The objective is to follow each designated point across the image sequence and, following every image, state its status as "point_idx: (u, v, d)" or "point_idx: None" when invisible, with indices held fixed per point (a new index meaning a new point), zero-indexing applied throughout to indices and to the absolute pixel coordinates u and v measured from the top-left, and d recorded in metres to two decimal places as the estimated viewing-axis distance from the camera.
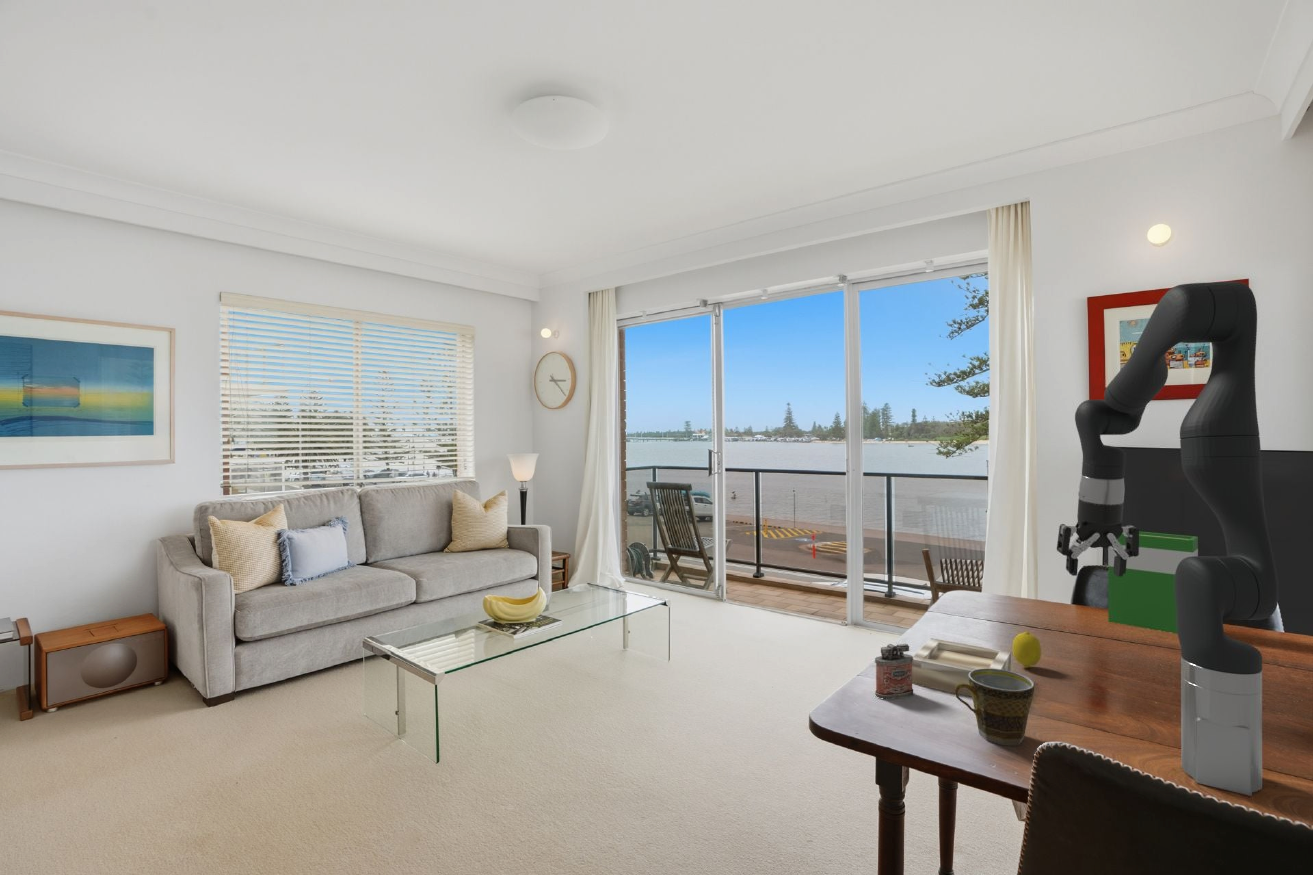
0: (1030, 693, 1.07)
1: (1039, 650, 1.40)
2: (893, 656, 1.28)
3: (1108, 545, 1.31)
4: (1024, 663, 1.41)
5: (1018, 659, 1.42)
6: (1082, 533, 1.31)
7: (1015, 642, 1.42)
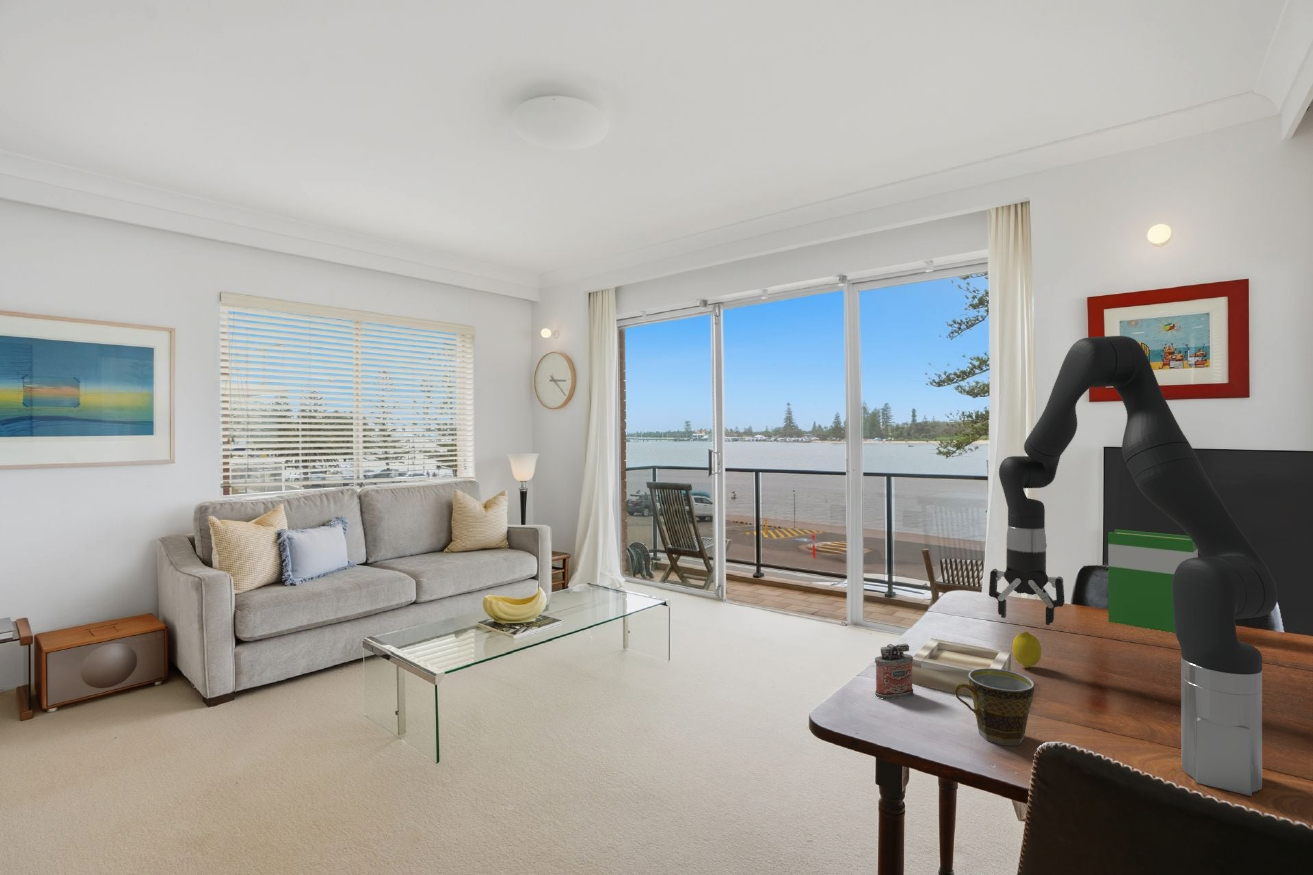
0: (1030, 693, 1.07)
1: (1039, 650, 1.40)
2: (893, 656, 1.28)
3: (1033, 592, 1.40)
4: (1024, 663, 1.41)
5: (1018, 659, 1.42)
6: (1007, 578, 1.43)
7: (1015, 642, 1.42)
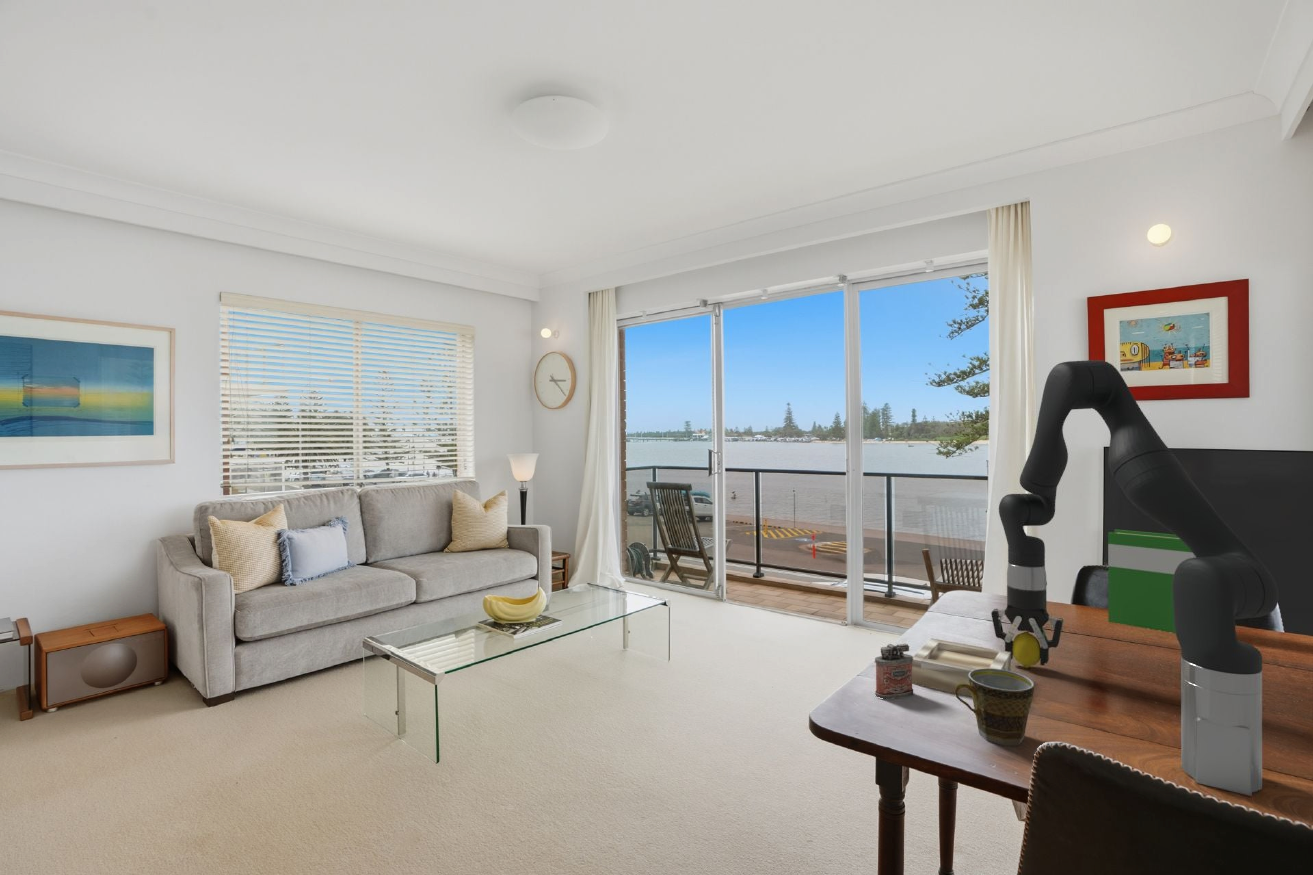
0: (1030, 693, 1.07)
1: (1039, 650, 1.40)
2: (893, 656, 1.28)
3: (1031, 630, 1.41)
4: (1024, 663, 1.41)
5: (1018, 659, 1.42)
6: (1008, 615, 1.43)
7: (1015, 642, 1.42)
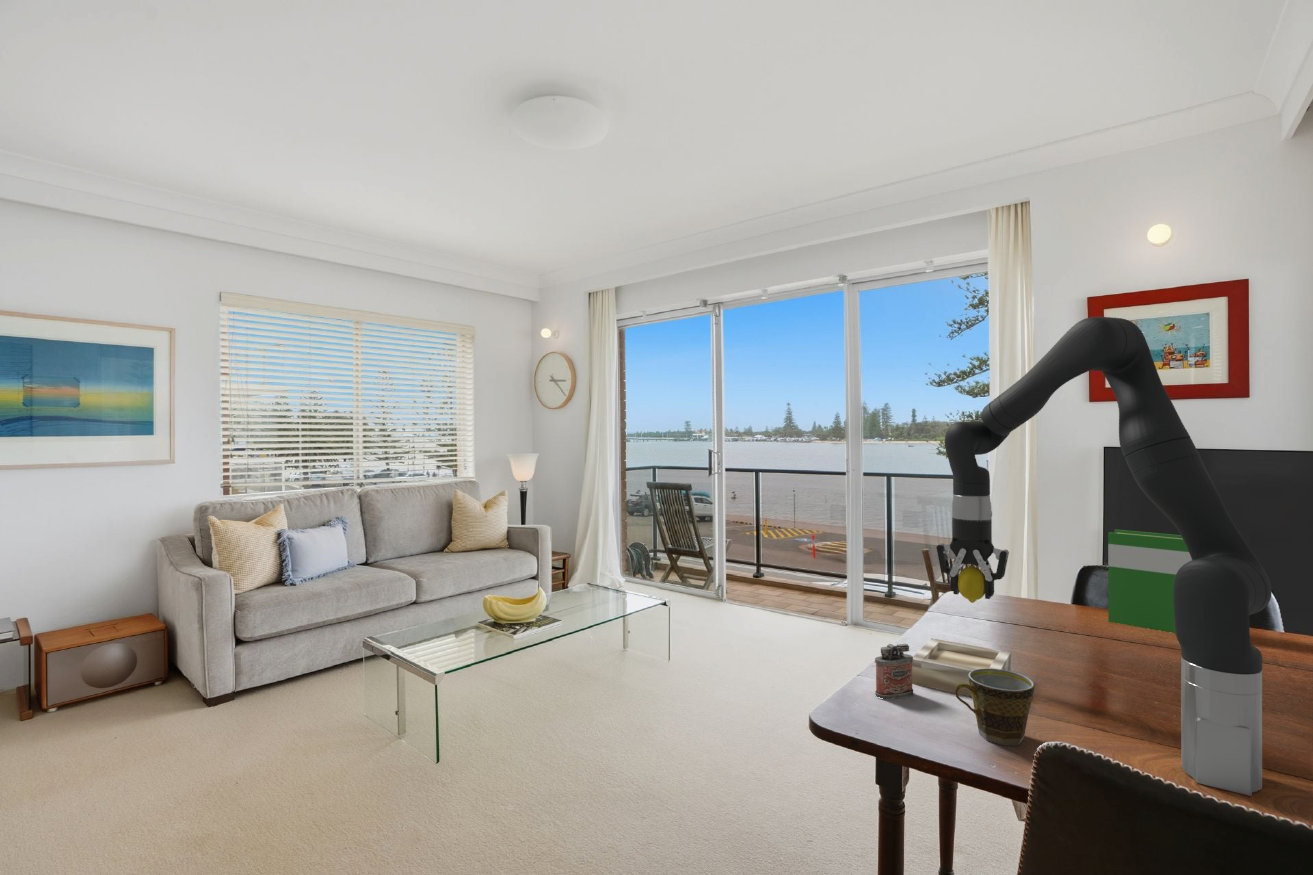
0: (1030, 693, 1.07)
1: (984, 583, 1.35)
2: (893, 656, 1.28)
3: (975, 562, 1.36)
4: (968, 597, 1.36)
5: (963, 593, 1.37)
6: (953, 549, 1.38)
7: (960, 576, 1.37)
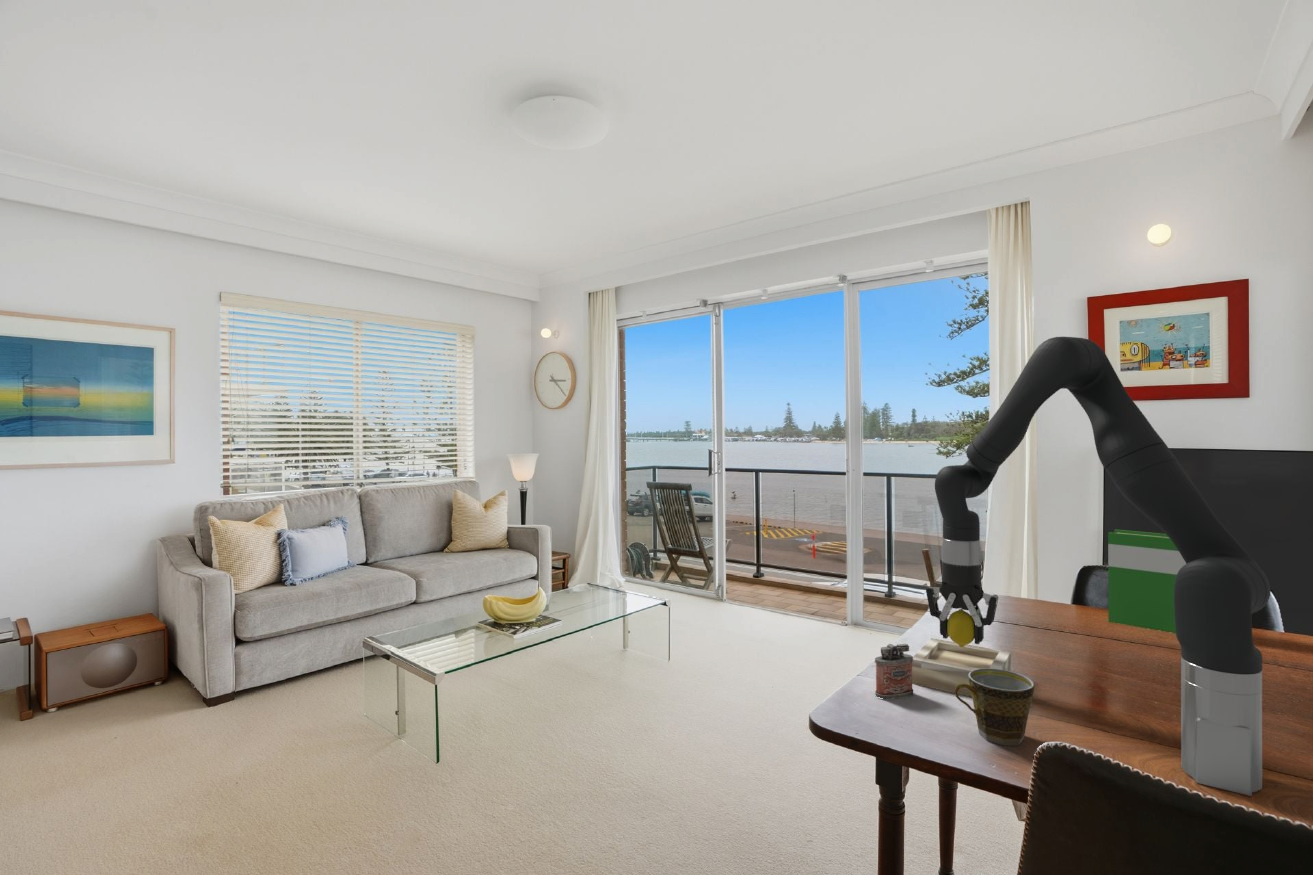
0: (1030, 693, 1.07)
1: (973, 628, 1.34)
2: (893, 656, 1.28)
3: (965, 607, 1.35)
4: (958, 642, 1.35)
5: (952, 638, 1.36)
6: (943, 593, 1.37)
7: (949, 620, 1.36)
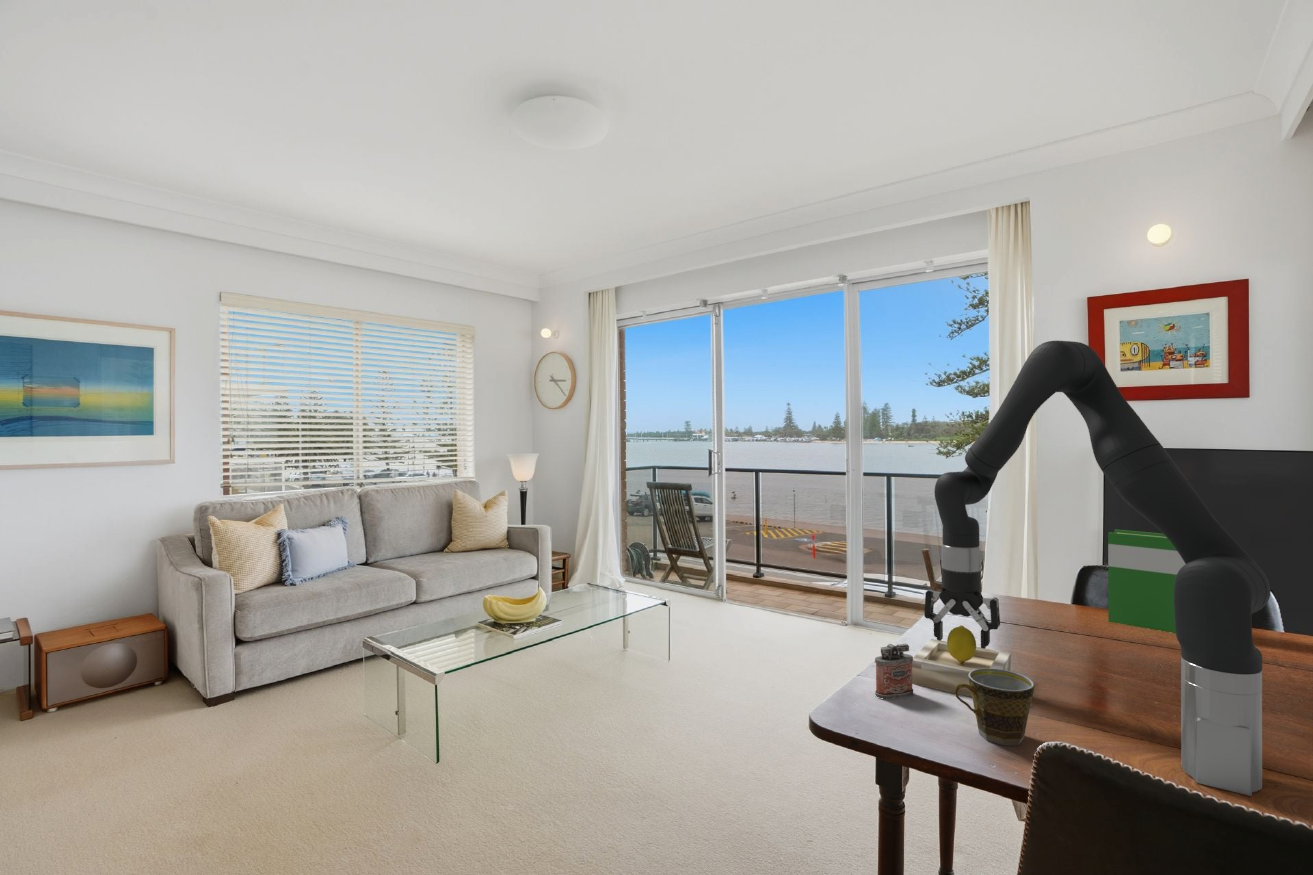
0: (1030, 693, 1.07)
1: (973, 645, 1.34)
2: (893, 656, 1.28)
3: (968, 614, 1.35)
4: (957, 658, 1.35)
5: (952, 654, 1.36)
6: (942, 598, 1.38)
7: (949, 636, 1.36)
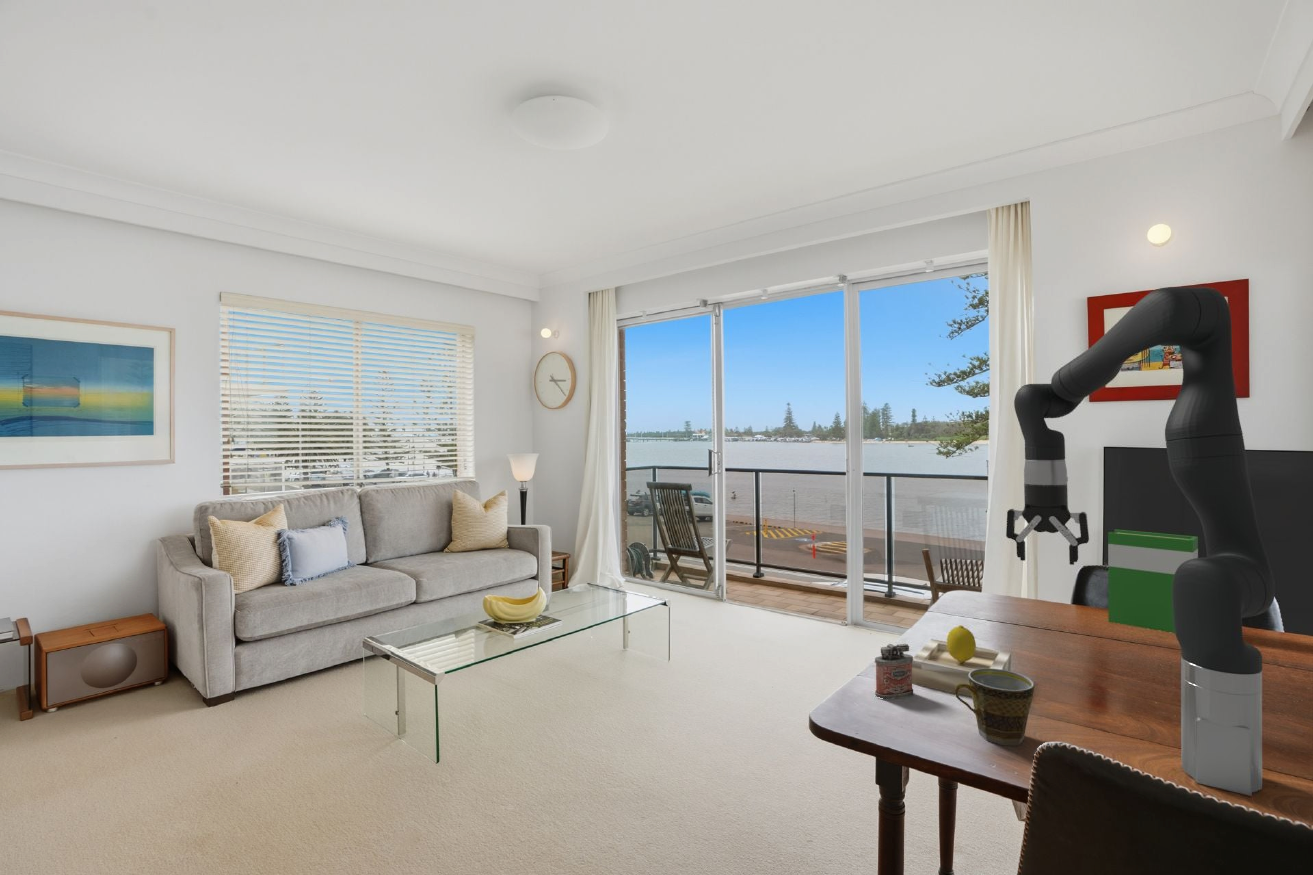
0: (1030, 693, 1.07)
1: (973, 645, 1.34)
2: (893, 656, 1.28)
3: (1054, 530, 1.30)
4: (957, 658, 1.35)
5: (952, 654, 1.36)
6: (1026, 516, 1.33)
7: (949, 636, 1.36)
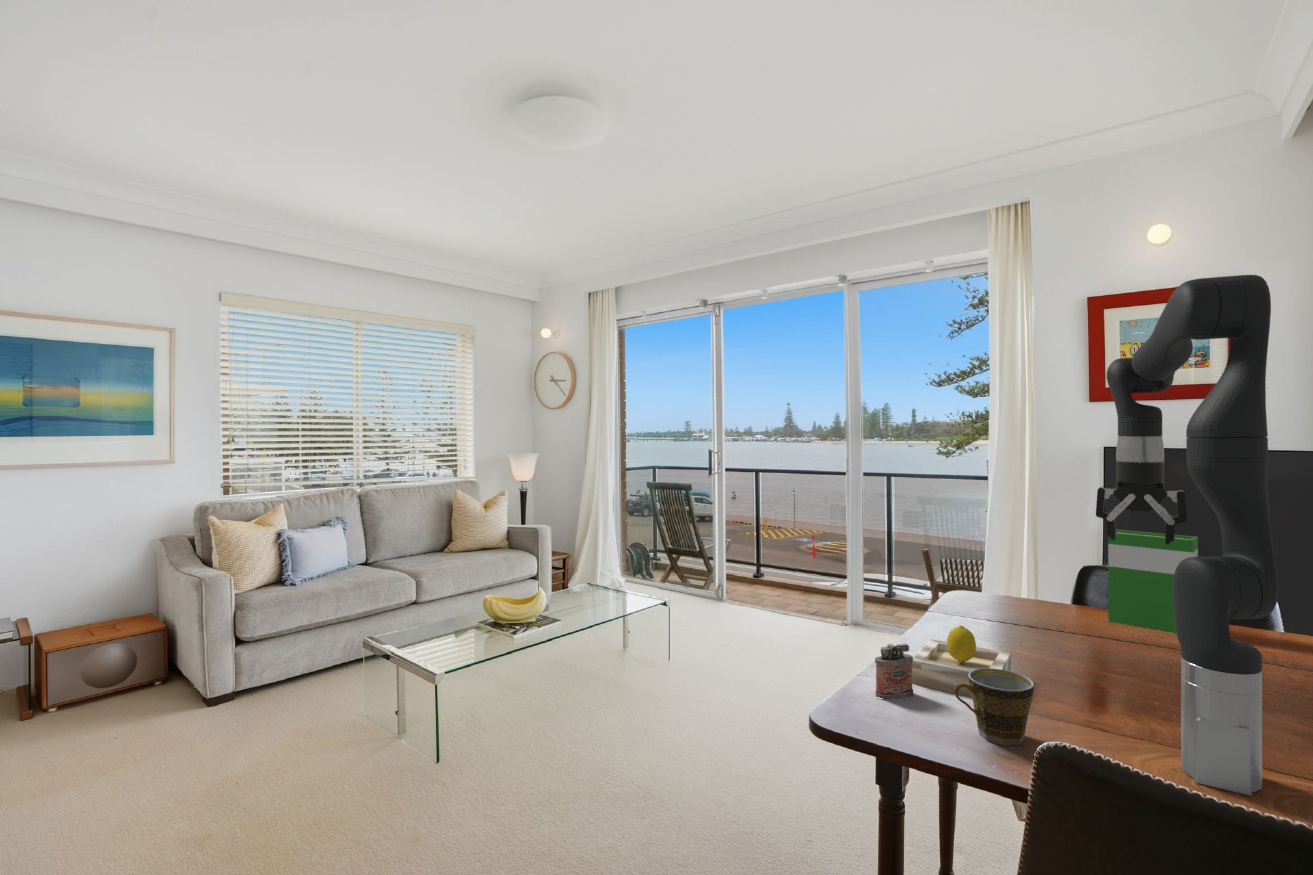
0: (1030, 693, 1.07)
1: (973, 645, 1.34)
2: (893, 656, 1.28)
3: (1149, 509, 1.26)
4: (957, 658, 1.35)
5: (952, 654, 1.36)
6: (1118, 495, 1.29)
7: (949, 636, 1.36)
